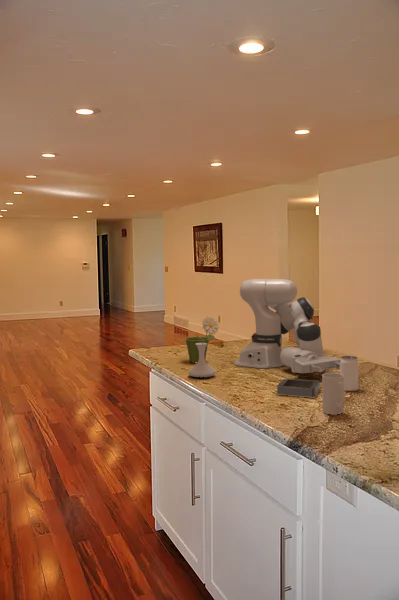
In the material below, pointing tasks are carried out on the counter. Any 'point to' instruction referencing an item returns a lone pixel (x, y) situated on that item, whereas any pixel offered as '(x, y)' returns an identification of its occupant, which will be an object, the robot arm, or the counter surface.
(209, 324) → the flower in vase
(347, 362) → the can
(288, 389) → the socket block
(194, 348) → the plant pot
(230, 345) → the counter surface
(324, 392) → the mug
